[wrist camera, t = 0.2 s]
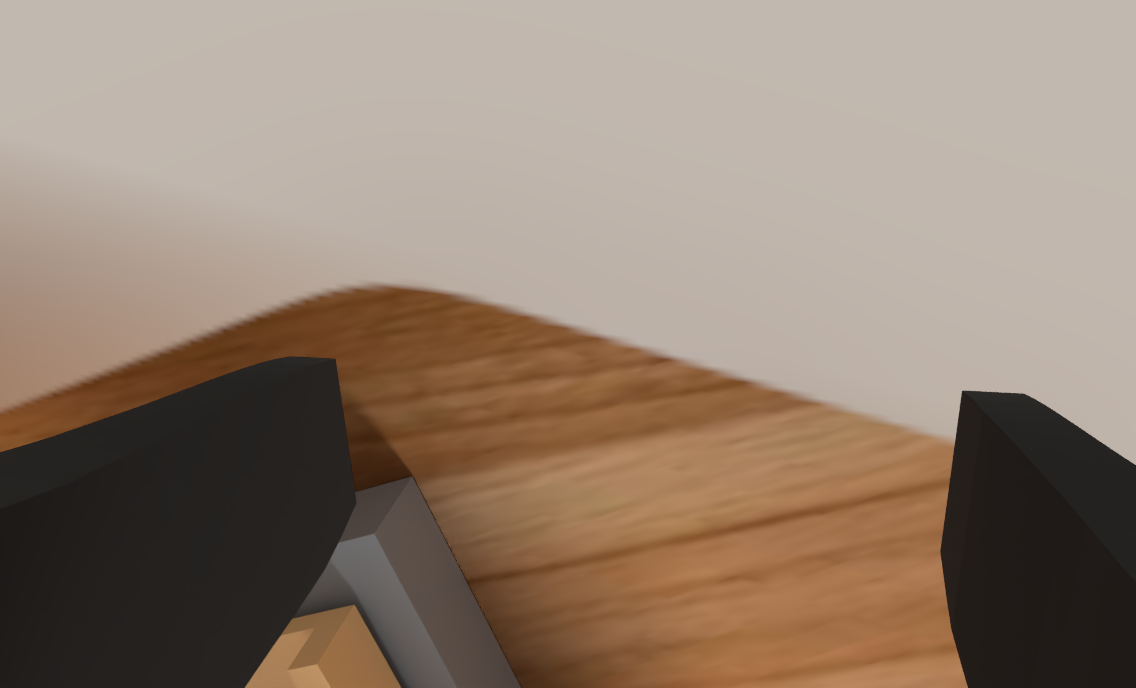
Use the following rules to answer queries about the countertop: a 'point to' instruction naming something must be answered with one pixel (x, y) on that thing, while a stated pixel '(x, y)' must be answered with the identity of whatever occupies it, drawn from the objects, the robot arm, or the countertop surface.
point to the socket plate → (410, 594)
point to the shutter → (325, 655)
